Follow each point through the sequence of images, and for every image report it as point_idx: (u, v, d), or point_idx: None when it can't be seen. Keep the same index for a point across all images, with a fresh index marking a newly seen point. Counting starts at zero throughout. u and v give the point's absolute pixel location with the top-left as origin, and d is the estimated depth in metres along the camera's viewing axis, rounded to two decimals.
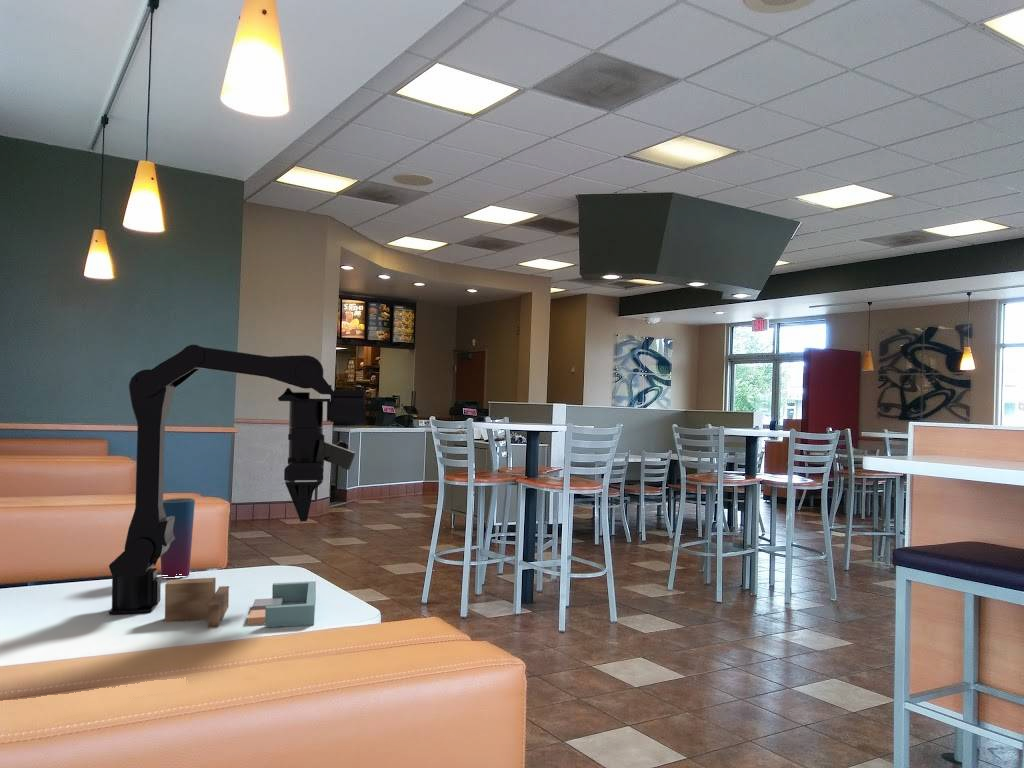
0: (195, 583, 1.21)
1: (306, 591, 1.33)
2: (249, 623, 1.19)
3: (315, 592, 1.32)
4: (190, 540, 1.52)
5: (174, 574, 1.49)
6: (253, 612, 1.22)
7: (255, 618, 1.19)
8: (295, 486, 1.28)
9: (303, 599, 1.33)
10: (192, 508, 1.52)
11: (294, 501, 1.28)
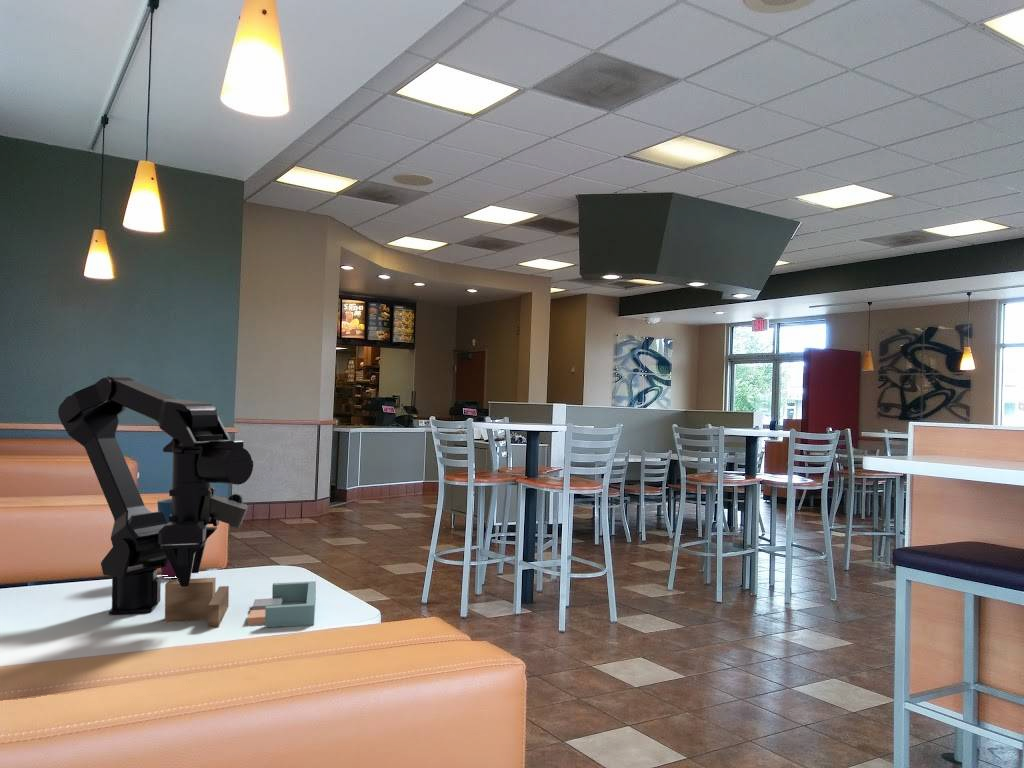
0: (195, 583, 1.21)
1: (306, 591, 1.33)
2: (249, 623, 1.19)
3: (315, 592, 1.32)
4: None
5: (174, 574, 1.49)
6: (253, 612, 1.22)
7: (255, 618, 1.19)
8: (173, 549, 1.16)
9: (303, 599, 1.33)
10: None
11: (173, 565, 1.17)
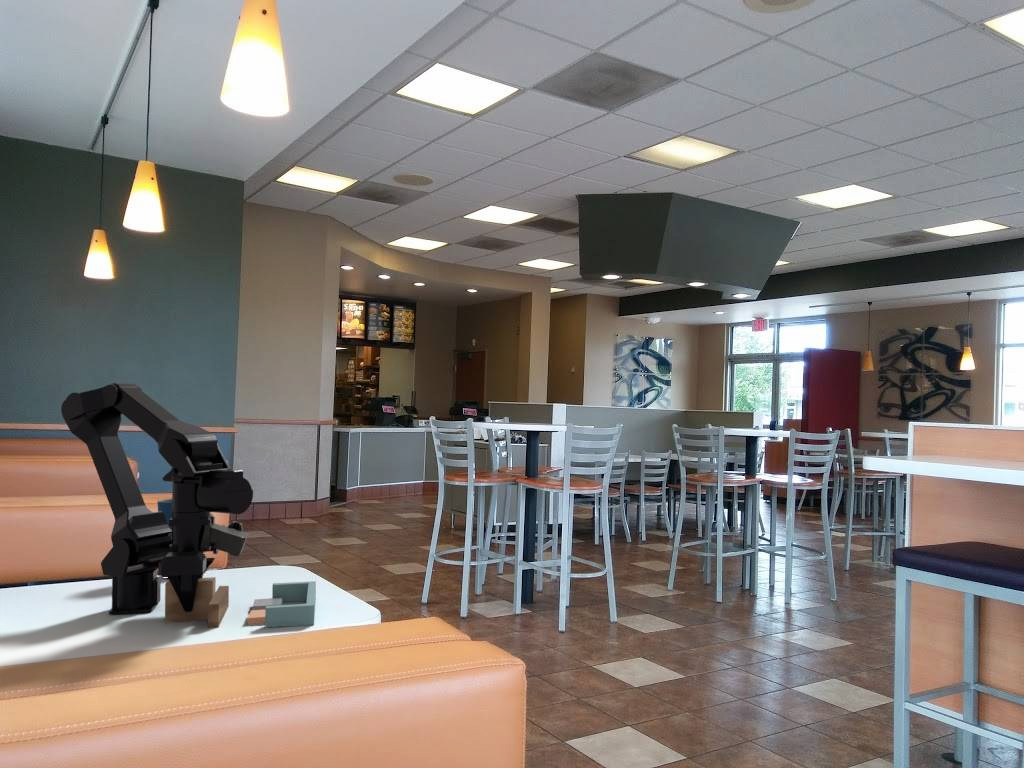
0: None
1: (306, 591, 1.33)
2: (249, 623, 1.19)
3: (315, 592, 1.32)
4: None
5: None
6: (253, 612, 1.22)
7: (255, 618, 1.19)
8: (177, 575, 1.19)
9: (303, 599, 1.33)
10: None
11: (177, 591, 1.19)
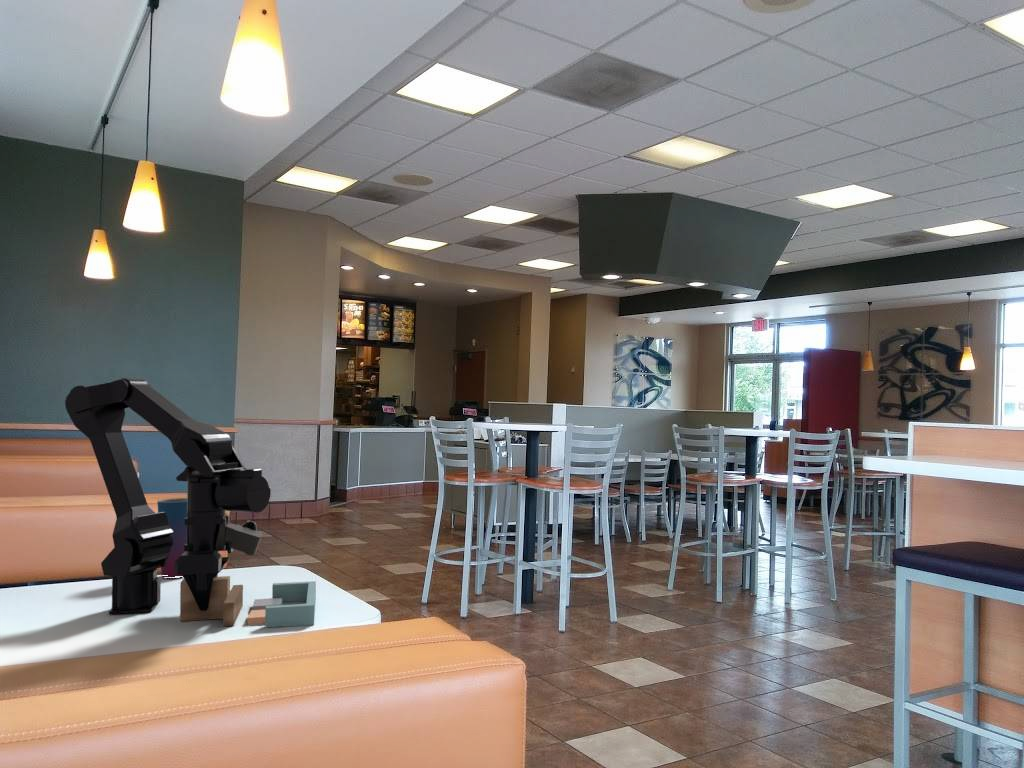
0: None
1: (306, 591, 1.33)
2: (249, 623, 1.19)
3: (315, 592, 1.32)
4: None
5: (174, 574, 1.49)
6: (253, 612, 1.22)
7: (255, 618, 1.19)
8: (192, 574, 1.19)
9: (303, 599, 1.33)
10: None
11: (192, 590, 1.20)
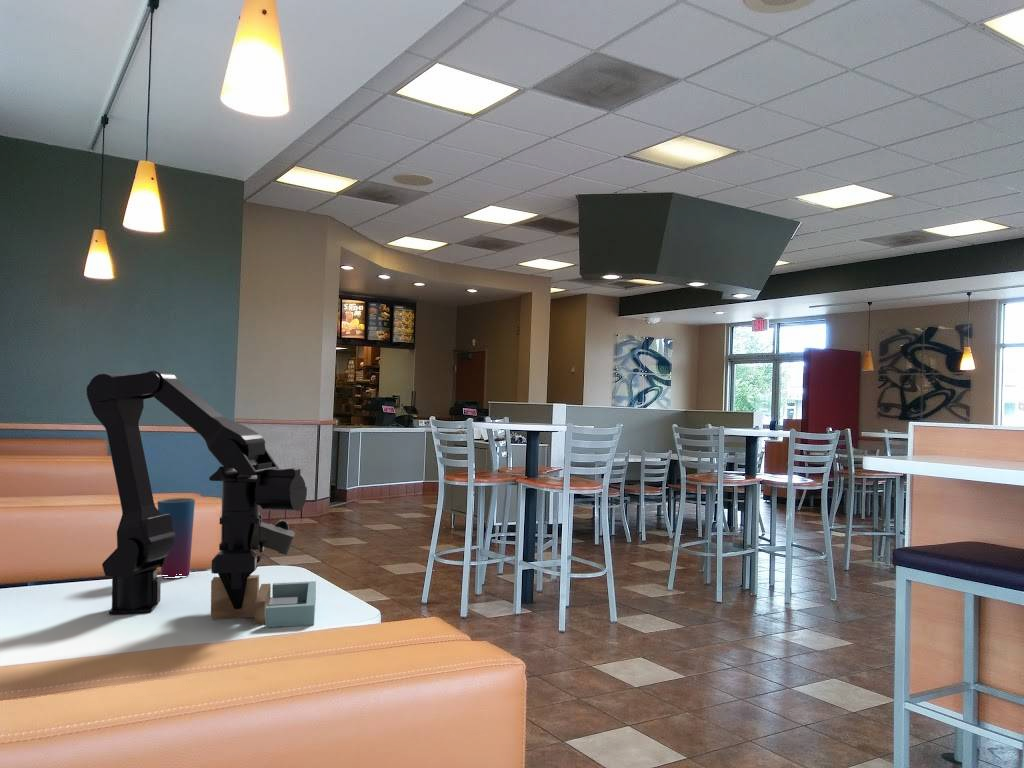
0: None
1: (306, 591, 1.33)
2: None
3: (315, 592, 1.32)
4: (190, 540, 1.52)
5: (174, 574, 1.49)
6: None
7: None
8: (227, 573, 1.21)
9: (303, 599, 1.33)
10: (192, 508, 1.52)
11: (227, 588, 1.21)
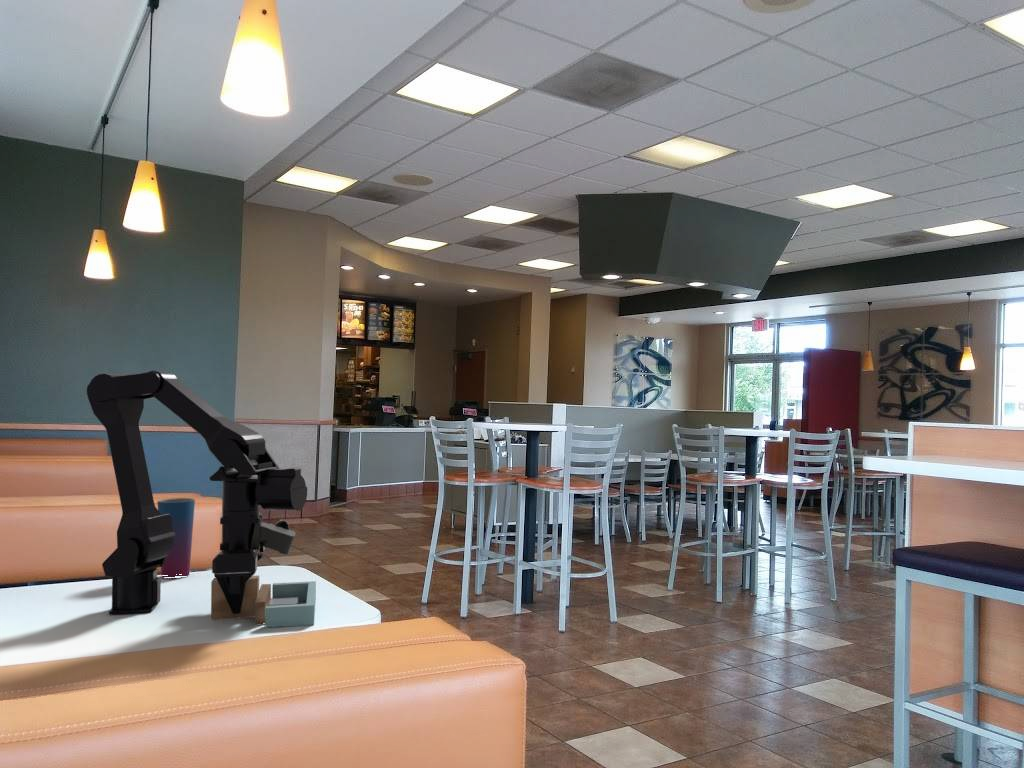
0: None
1: (306, 591, 1.33)
2: None
3: (315, 592, 1.32)
4: (190, 540, 1.52)
5: (174, 574, 1.49)
6: None
7: None
8: (226, 577, 1.18)
9: (303, 599, 1.33)
10: (192, 508, 1.52)
11: (225, 593, 1.18)
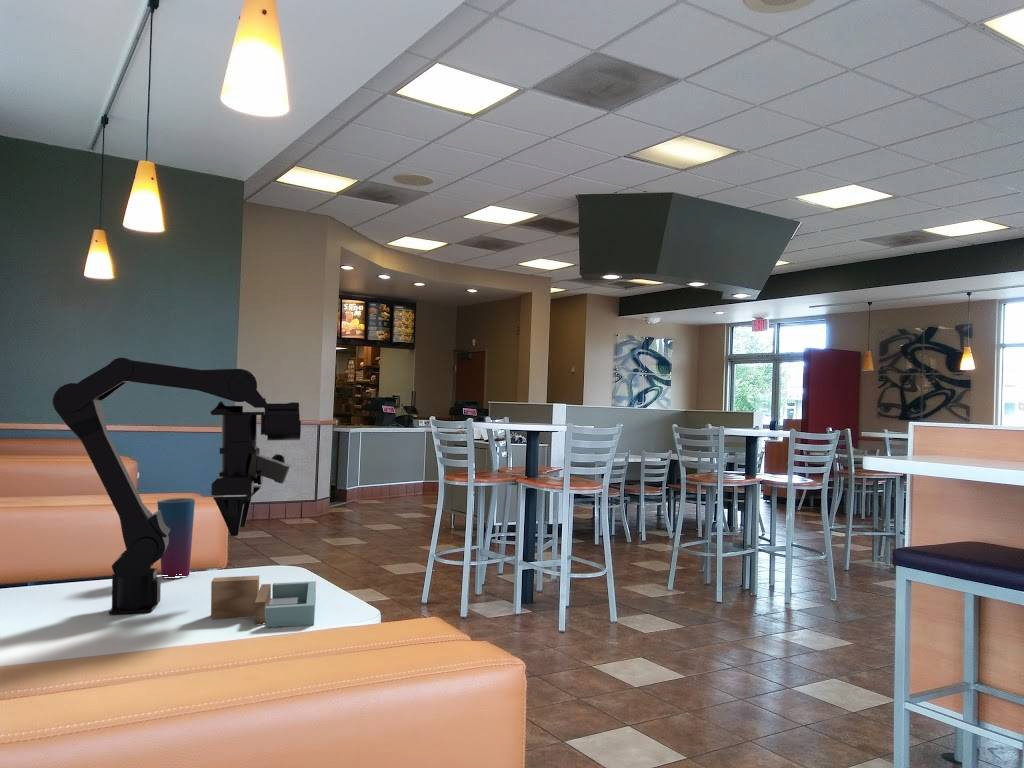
0: (240, 581, 1.23)
1: (306, 591, 1.33)
2: None
3: (315, 592, 1.32)
4: (190, 540, 1.52)
5: (174, 574, 1.49)
6: None
7: None
8: (224, 501, 1.27)
9: (303, 599, 1.33)
10: (192, 508, 1.52)
11: (224, 516, 1.27)
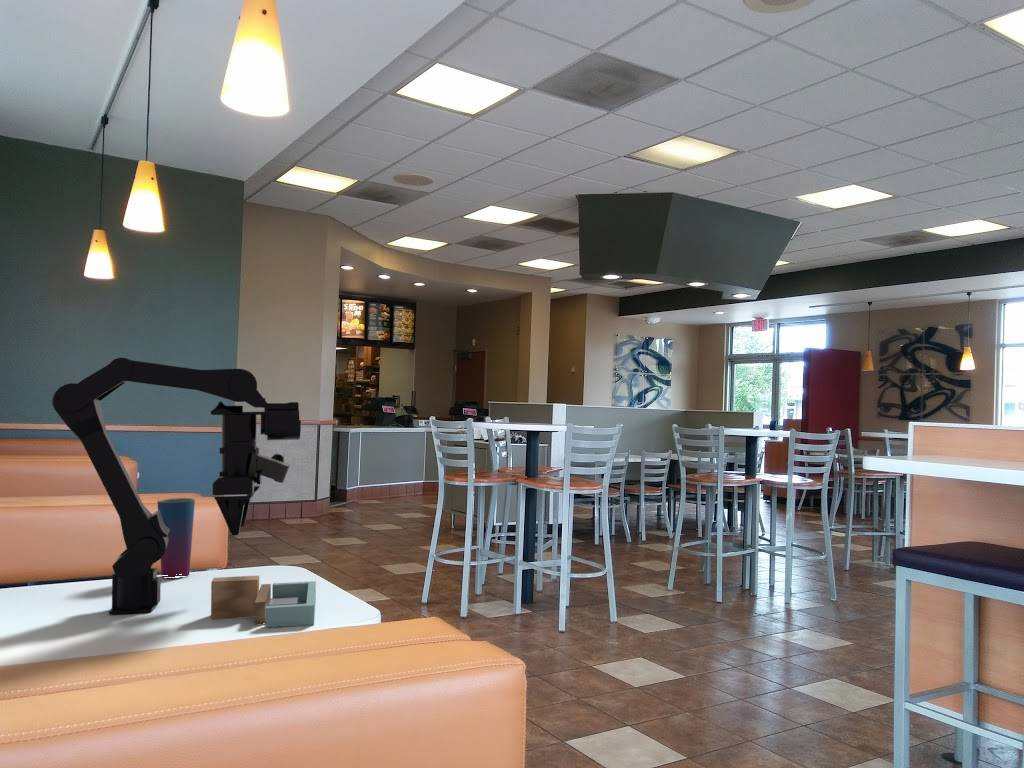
0: (240, 581, 1.23)
1: (306, 591, 1.33)
2: None
3: (315, 592, 1.32)
4: (190, 540, 1.52)
5: (174, 574, 1.49)
6: None
7: None
8: (225, 500, 1.27)
9: (303, 599, 1.33)
10: (192, 508, 1.52)
11: (224, 515, 1.28)
